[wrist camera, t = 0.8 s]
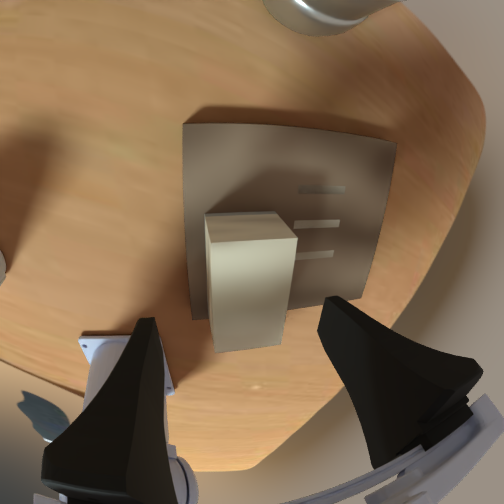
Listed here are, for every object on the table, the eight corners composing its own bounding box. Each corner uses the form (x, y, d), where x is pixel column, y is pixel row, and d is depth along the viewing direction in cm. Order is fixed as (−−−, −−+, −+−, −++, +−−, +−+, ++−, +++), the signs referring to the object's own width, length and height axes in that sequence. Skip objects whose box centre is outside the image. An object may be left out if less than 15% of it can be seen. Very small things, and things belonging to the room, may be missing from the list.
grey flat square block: (353, 289, 25) (361, 298, 24) (191, 307, 22) (192, 320, 21) (384, 139, 19) (397, 143, 17) (182, 123, 15) (182, 124, 14)
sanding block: (265, 308, 22) (280, 344, 18) (208, 314, 21) (214, 353, 17) (274, 211, 18) (297, 237, 14) (204, 213, 17) (210, 242, 13)
